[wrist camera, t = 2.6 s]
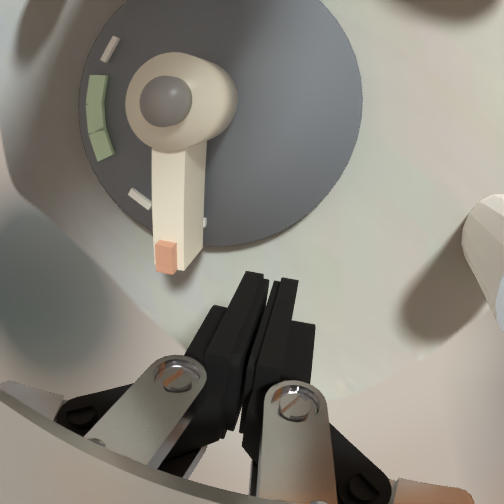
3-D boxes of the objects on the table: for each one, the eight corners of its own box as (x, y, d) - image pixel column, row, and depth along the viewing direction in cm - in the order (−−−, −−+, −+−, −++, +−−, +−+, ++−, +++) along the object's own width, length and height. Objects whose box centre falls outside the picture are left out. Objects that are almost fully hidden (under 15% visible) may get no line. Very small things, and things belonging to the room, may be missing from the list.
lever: (160, 61, 16) (121, 55, 12) (241, 60, 15) (218, 48, 11) (157, 237, 21) (125, 266, 17) (227, 249, 20) (205, 283, 16)
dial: (100, -9, 15) (87, -13, 14) (370, -20, 12) (373, -29, 11) (93, 219, 23) (82, 226, 22) (333, 260, 20) (333, 271, 19)
